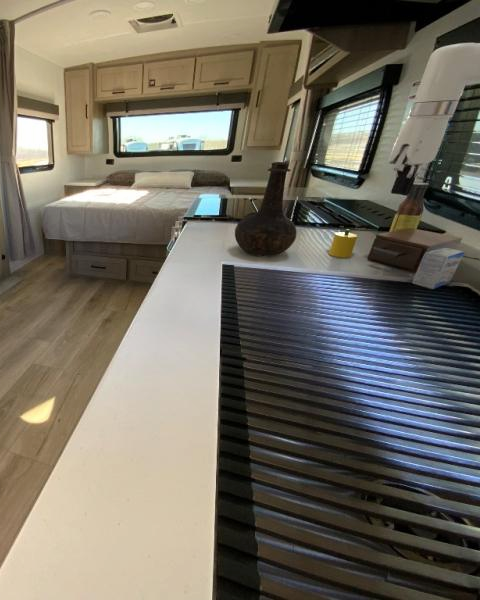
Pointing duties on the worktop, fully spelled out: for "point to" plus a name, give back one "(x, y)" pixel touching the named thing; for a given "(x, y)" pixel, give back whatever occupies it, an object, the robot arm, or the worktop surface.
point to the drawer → (396, 253)
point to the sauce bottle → (410, 209)
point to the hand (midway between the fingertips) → (399, 193)
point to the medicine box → (437, 267)
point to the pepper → (343, 244)
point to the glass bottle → (268, 220)
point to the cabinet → (420, 241)
